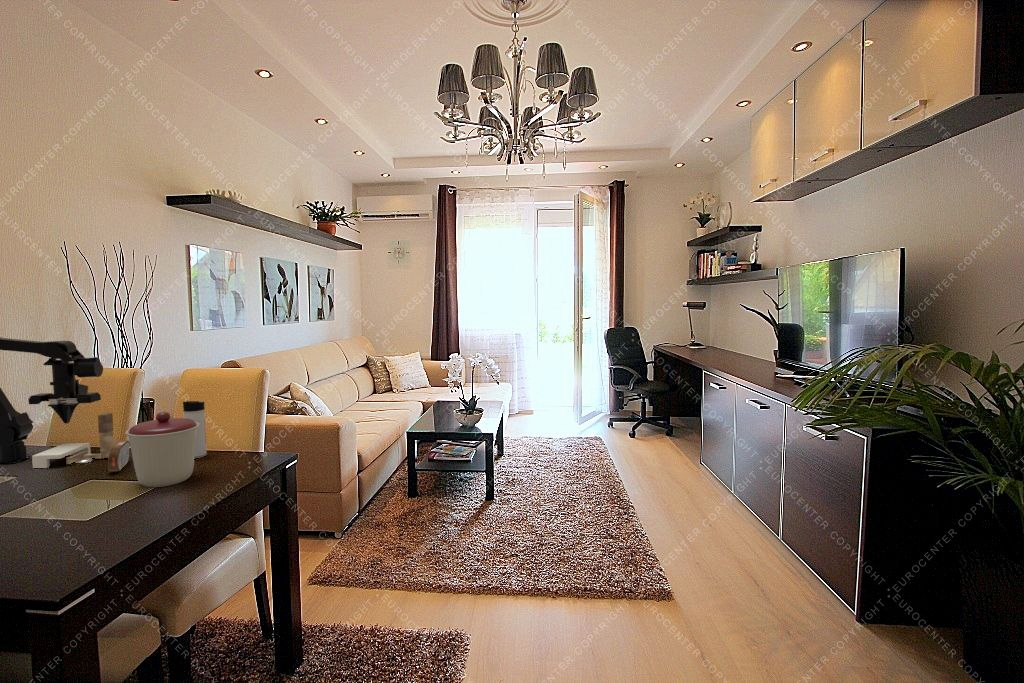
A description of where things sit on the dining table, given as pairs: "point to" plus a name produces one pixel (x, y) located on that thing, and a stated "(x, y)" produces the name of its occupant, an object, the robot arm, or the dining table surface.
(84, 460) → the grey metal disc
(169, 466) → the canister
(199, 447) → the travel mug
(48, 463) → the cream rectangular box
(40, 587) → the dining table surface
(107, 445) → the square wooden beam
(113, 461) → the tin
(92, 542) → the dining table surface
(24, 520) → the dining table surface
